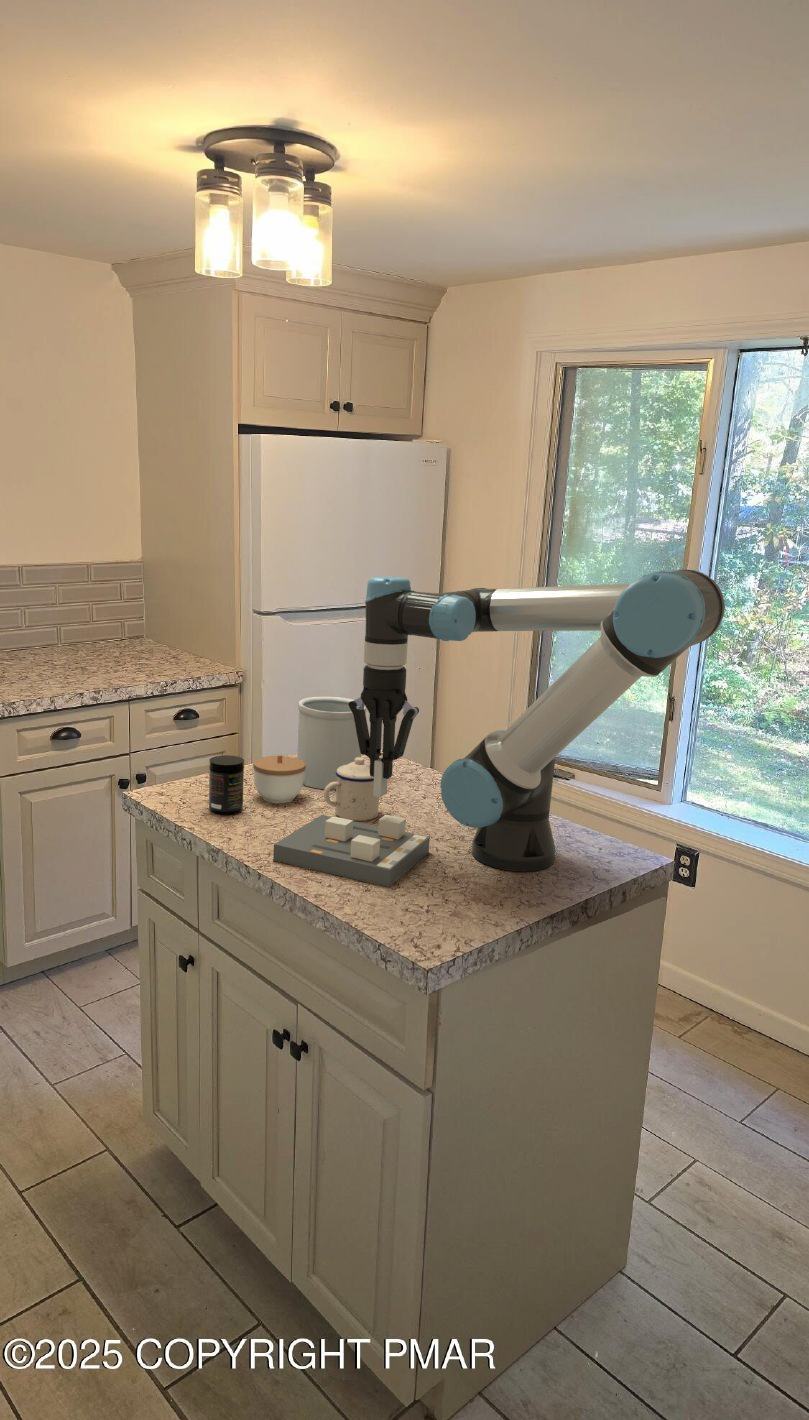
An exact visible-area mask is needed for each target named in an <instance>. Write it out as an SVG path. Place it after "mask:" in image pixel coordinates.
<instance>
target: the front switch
mask: <svg viewBox="0 0 809 1420" xmlns="http://www.w3.org/2000/svg"><path fill="white" fill-rule="evenodd" d="M379 852H380V839H376V838H371V837H367V836H362V835H358V836H357V837H355V838H354V839H352V840H351V856H350V857H353V858H357V859H362V860H366V861H371V862H372V861H373V860H375V859H376V858H377V857H379Z"/></svg>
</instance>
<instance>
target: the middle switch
mask: <svg viewBox="0 0 809 1420" xmlns="http://www.w3.org/2000/svg"><path fill="white" fill-rule="evenodd" d="M330 817H331V818H330V819H328V820H327V821H325V837H326V838H331V839H336V840H340V841H346V840H348V839H349V838H351V837H352V833H353V820H348V819H344V818H341V817H339V816H330Z"/></svg>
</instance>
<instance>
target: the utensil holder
mask: <svg viewBox="0 0 809 1420" xmlns="http://www.w3.org/2000/svg"><path fill="white" fill-rule="evenodd" d="M353 700H354V699H352V698H347V697H338V696H311V697H305V698H302V699H301V700H299V701H298V705H297V706H298V707H297V708H298V711H299V714H298V715H299V716H298V730H297V731H298V733H297V735H298V736H297V753H296V754H297V755H296V758H297V759H300V760H302V761H304V762H305V763H306V769H305V778H304V783H303V786H305V787H309V788H314V789H319V790H324V789H325V787H326V786H327V785H328V784H329V783H331V782H337V775H336V771H337V769H338V768H339V767H341V766H343V765H348V764H349V763H352V762H354V760H355V758H357V757H361V758H362V754H361V753H360V748H359V743H358V738H357V732H356V727H355V721H354V716H353V713H352V711H351V709H350V708H349V705H348V704H349V702H351V701H353ZM364 711H365V714H366V713H367V708H366V706H365V707H364ZM331 790H333V791H335V790H336V786H334V787H332V788H331V789H330V791H331Z"/></svg>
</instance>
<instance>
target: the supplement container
mask: <svg viewBox="0 0 809 1420" xmlns="http://www.w3.org/2000/svg"><path fill="white" fill-rule="evenodd" d="M208 763H209V764H208V770H209V771H208V775H209V776H208V778H209V779H208V781H209V782H208V809H209V811H210V813H212V814H214V815H219V816H233V815H237V814H240V813H241V812H242V810H243V808H244V778H245V775H244V774H245V771H244V770H245V759H244V758H243V757H240V756H236V755H230V754H227V755H224V754H223V755H216V756H212V757H210V758H209V762H208Z"/></svg>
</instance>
